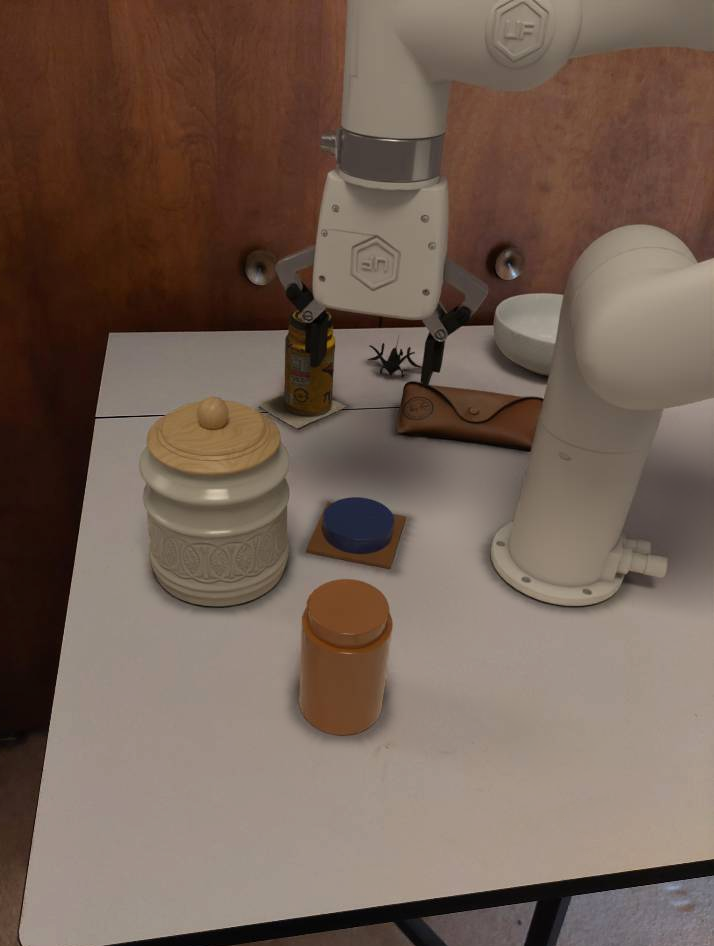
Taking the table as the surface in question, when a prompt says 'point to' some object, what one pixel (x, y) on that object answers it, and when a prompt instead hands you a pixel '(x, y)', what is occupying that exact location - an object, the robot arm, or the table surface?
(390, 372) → the creature
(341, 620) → the jam jar
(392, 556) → the coaster
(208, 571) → the jar
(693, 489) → the table surface
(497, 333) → the cereal bowl
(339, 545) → the lid
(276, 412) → the condiment
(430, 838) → the table surface
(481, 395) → the sunglasses case
